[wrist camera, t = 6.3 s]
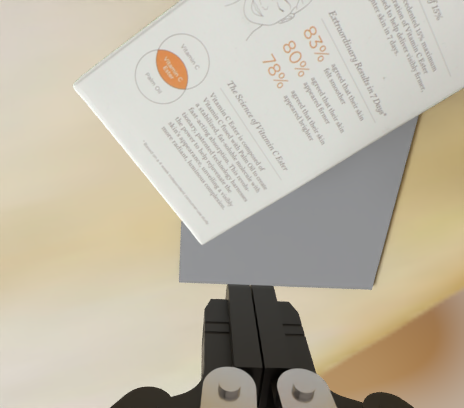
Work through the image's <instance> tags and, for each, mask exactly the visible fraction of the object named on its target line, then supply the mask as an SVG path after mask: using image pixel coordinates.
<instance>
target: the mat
mask: <svg viewBox="0 0 464 408" xmlns="http://www.w3.org/2000/svg"><path fill="white" fill-rule="evenodd" d="M418 116H419V115H418ZM418 116H416V117H414V118H413V119H411V120H409V121H408V122H406V123H404V124H403V125H401V126H399V127H398V128H396V129H394V130H393V131H391V132H389V133H388V134H386V135H384V136H383V137H381V138H380V139H378V140H376V141H375V142H373V143H371V144H370V145H368V146H366V147H365V148H363V149H362V150H360V151H358V152H357V153H355V154H353V155H352V156H350V157H348V158H347V159H345V160H344V161H342V162H340V163H339V164H337V165H335V166H334V167H332V168H330V169H329V170H327V171H326V172H324V173H322V174H321V175H319V176H317V177H316V178H314V179H312V180H311V181H309V182H307V183H306V184H304V185H302V186H301V187H299V188H297V189H296V190H294V191H293V192H291V193H289V194H288V195H286V196H284V197H283V198H281V199H279V200H278V201H276V202H274V203H272V204H271V205H269V206H267V207H266V208H264V209H262V210H261V211H259V212H257V213H256V214H254V215H252V216H250V217H249V218H247V219H245V220H244V221H242V222H240V223H239V224H237V225H235V226H234V227H232V228H230V229H229V230H227V231H225V232H224V233H222V234H220V235H219V236H217V237H216V238H214V239H212V240H210V241H209V242H207V243H205V244H203V245H201V244H200V243H199V242H198V240H197V239H196V238H195V237H194V235H193V234H192V233H191V231H190V230H189V229H188V228H187V226H186V225H185V224H184V223H183V221H182V222H181V247H180V272H179V282H184V283H211V284H241V285H267V286H290V287H316V288H342V289H369V290H372V287H373V283H374V280H375V276H376V272H377V268H378V265H379V261H380V257H381V254H382V250H383V246H384V242H385V239H386V235H387V231H388V227H389V224H390V220H391V216H392V213H393V209H394V205H395V201H396V198H397V194H398V190H399V187H400V183H401V179H402V175H403V172H404V168H405V164H406V161H407V157H408V153H409V149H410V146H411V142H412V138H413V134H414V131H415V127H416V123H417V120H418Z"/></svg>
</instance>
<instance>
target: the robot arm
mask: <svg viewBox="0 0 464 408" xmlns="http://www.w3.org/2000/svg"><path fill="white" fill-rule="evenodd" d="M110 408H414V407H412V406H411V405H410V404H408V403H407V402H405V401H404V400H402V399H401V398H399V397H397V396H395V395H392V394H389V393H383V392H377V393H372V394H370V395H368V396H367V397H366V398H365V400H364V402H363V403H362V402H359V401H356V400H352V399H349V398H346V397H342V396H340V395H338V394H336V393H333V392H332V391H330V389H329V387H328V385H327V384H326V382H325V381H324V380H323V379H322V378H321V377H320V376H319V375H317V374H316V371H315V368H314V365H313V361H312V358H311V354H310V351H309V348H308V344H307V341H306V337H305V336H304V331H303V327H302V324H301V321H300V317H299V314H298V312H297V311H296V310H295V308H294V307H293V306H292V305H291V304H290V303H289V302H280V301H277V299H276V295H275V290H274V287H273V286H267V285H241V284H227V289H226V299H225V300H224V299H211V300H210V302H209V303H208V305H207V306H206V308H205V311H204V324H203V338H202V373H201V381H200V382H199V384H198V385H197V386H196V387H195V388H193V389H192V390H190V391H188V392H186V393H183V394H180V395H177V396H173V397H171V396H170V395H169V394H168V393H167V392H165V391H164V390H162V389H159V388H156V387H141V388H137V389H134V390H132V391H130V392H129V393H127V394H126V395H125V396H124V397H122V398H121V399H120V400H119V401H118V402H116V403H115V404H114V405H113V406H112V407H110Z"/></svg>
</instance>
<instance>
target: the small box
mask: <svg viewBox="0 0 464 408" xmlns="http://www.w3.org/2000/svg"><path fill="white" fill-rule="evenodd" d="M73 88H74V89H75V91H76V92H77V93H78V94H79V95H80V96H81V98H82V99H83V100H84V101H85V102H86V103H87V105H88V106H89V107H90V108H91V110H92V111H93V112H94V113H95V114H96V116H97V117H98V118H99V119H100V120H101V122H102V123H103V124H104V125H105V127H106V128H107V129H108V130H109V131H110V133H111V134H112V135H113V136H114V138H115V139H116V140H117V141H118V142H119V144H120V145H121V146H122V147H123V149H124V150H125V151H126V152H127V153H128V155H129V156H130V157H131V158H132V160H133V161H134V162H135V163H136V165H137V166H138V167H139V168H140V169H141V171H142V172H143V173H144V174H145V176H146V177H147V178H148V179H149V181H150V182H151V183H152V184H153V186H154V187H155V188H156V189H157V190H158V192H159V193H160V194H161V195H162V197H163V198H164V199H165V200H166V202H167V203H168V204H169V205H170V206H171V208H172V209H173V210H174V211H175V213H176V214H177V215H178V216H179V218H180V219H181V220H182V221H183V223H184V224H185V225H186V226H187V228H188V229H189V230H190V231H191V233H192V234H193V235H194V237H195V238H196V239H197V240H198V242H199V243H200V244H201V245H203V244H205V243H207V242H209V241H210V240H212V239H214V238H216V237H217V236H219V235H220V234H222V233H224V232H225V231H227V230H229V229H230V228H232V227H234V226H235V225H237V224H239V223H240V222H242V221H244V220H245V219H247V218H249V217H250V216H252V215H254V214H256V213H257V212H259V211H261V210H262V209H264V208H266V207H267V206H269V205H271V204H272V203H274V202H276V201H278V200H279V199H281V198H283V197H284V196H286V195H288V194H289V193H291V192H293V191H294V190H296V189H297V188H299V187H301V186H302V185H304V184H306V183H307V182H309V181H311V180H312V179H314V178H316V177H317V176H319V175H321V174H322V173H324V172H326V171H327V170H329V169H330V168H332V167H334V166H335V165H337V164H339V163H340V162H342V161H344V160H345V159H347V158H348V157H350V156H352V155H353V154H355V153H357V152H358V151H360V150H362V149H363V148H365V147H366V146H368V145H370V144H371V143H373V142H375V141H376V140H378V139H380V138H381V137H383V136H384V135H386V134H388V133H389V132H391V131H393V130H394V129H396V128H398V127H399V126H401V125H403V124H404V123H406V122H408V121H409V120H411V119H413V118H414V117H416V116H418V115H419V114H421V113H423V112H424V111H426V110H428V109H429V108H431V107H433V106H434V105H436V104H438V103H439V102H441V101H443V100H444V99H446V98H448V97H449V96H451V95H453V94H454V93H456V92H458V91H459V90H461V89H463V88H464V0H180V1H179V2H177V3H176V4H175V5H173V6H172V7H171V8H169V9H168V10H167V11H166V12H164V13H163V14H162V15H160V16H159V17H158V18H156V19H155V20H154V21H152V22H151V23H150V24H148V25H147V26H146V27H144V28H143V29H142V30H141V31H139V32H138V33H137V34H135V35H134V36H133V37H131V38H130V39H129V40H127V41H126V42H125V43H123V44H122V45H121V46H120V47H118V48H117V49H116V50H114V51H113V52H112V53H110V54H109V55H108V56H106V57H105V58H104V59H102V60H101V61H100V62H99V63H97V64H96V65H95V66H93V67H92V68H91V69H89V70H88V71H87V72H86V73H84V74H83V75H82V76H81V77H80V78H79V79H78V80H76V81H75V83H74V84H73Z"/></svg>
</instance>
